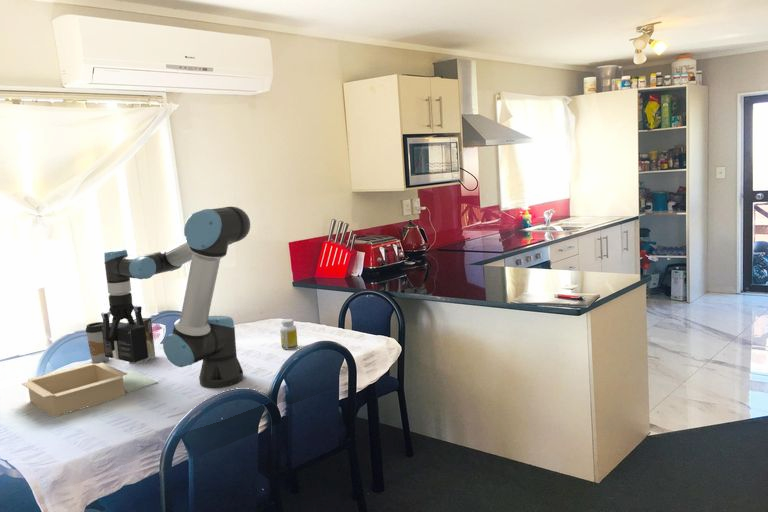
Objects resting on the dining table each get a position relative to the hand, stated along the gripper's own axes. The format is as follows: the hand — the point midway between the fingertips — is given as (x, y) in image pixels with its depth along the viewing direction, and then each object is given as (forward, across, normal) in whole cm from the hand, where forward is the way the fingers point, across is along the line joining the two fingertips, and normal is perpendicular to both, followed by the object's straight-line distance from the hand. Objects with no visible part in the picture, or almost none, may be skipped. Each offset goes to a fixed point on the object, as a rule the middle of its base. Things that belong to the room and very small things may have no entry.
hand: (126, 355), depth 230 cm
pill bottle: (+9, -60, +16) cm, 63 cm away
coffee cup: (+10, -4, -34) cm, 35 cm away
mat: (+9, 0, 0) cm, 9 cm away
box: (+1, 0, 0) cm, 1 cm away
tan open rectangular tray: (+9, +19, +2) cm, 21 cm away
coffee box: (+10, -15, -21) cm, 27 cm away
